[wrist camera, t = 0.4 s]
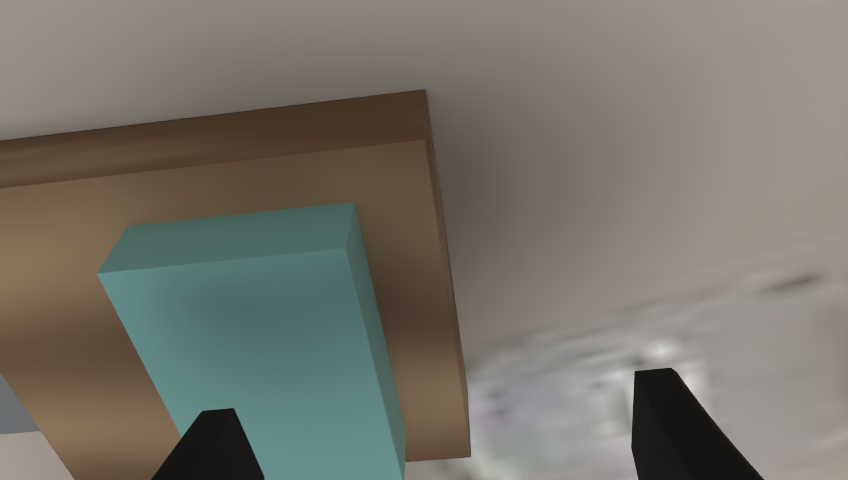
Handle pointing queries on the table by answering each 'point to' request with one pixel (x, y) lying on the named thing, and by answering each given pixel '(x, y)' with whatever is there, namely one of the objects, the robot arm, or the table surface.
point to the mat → (13, 412)
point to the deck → (202, 198)
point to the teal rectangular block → (266, 335)
